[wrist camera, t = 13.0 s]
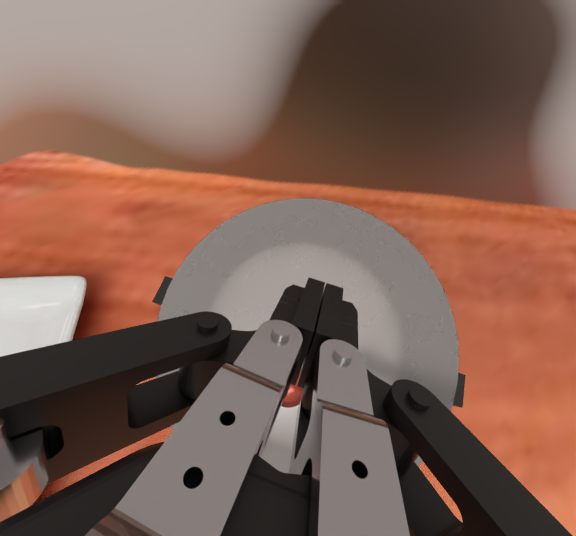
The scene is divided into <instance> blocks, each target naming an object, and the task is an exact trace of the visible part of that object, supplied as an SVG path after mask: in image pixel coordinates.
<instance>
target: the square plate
mask: <svg viewBox="0 0 576 536" xmlns="http://www.w3.org/2000/svg"><path fill="white" fill-rule="evenodd" d="M86 287H87V281H86V279H85V278H84V277H81V276H41V277H15V278H0V357H1V356H5V355H10V354H14V353H19V352H23V351H28V350H32V349H37V348H41V347H46V346H50V345H54V344H59V343H63V342H68V341H72V340H73V335H74V332H75V329H76V325H77V322H78V319H79V316H80V312H81V309H82V306H83V301H84V297H85V292H86Z"/></svg>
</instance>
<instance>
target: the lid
mask: <svg viewBox="0 0 576 536" xmlns="http://www.w3.org/2000/svg"><path fill="white" fill-rule="evenodd" d="M309 277H310V278H313V279H316V280H319V281H322V282H325V285H326V283H329V284H332V285H335V286H338V287H341V288H343V300H344V301H347V302H350V303H353V305H354V306H355V308H356V310H357V311H358V350H359V351H360V352H361V354H362V355H363V357H364V359H365V362H366V368H367V369H368V370H369V371H370V372H371V373H372V374H373V375H375V376H376V377H378V378H379V379H381V380H383V381H384V382H386V383H388V384H389V385H391V386H392V384H393V383H394V382H395V381H397V380H400V379H407V380H411V381H414V382H416V383H419V384H420V385H422V386H424V387H425V388H427V389H428V390H429V391H431V392H432V393H433V394H434V395H435V396H436V397H437V398H438V399H439V400H440V401H441V402H442V403H443V404H444V405H445V406H446V407H447V408H448V409H449V410H450V411H451V408H452V406H453V401H454V397H455V392H456V388H457V381H458V370H459V349H458V338H457V332H456V326H455V321H454V317H453V314H452V311H451V308H450V304H449V301H448V299H447V297H446V294H445V292H444V290H443V288H442V285H441V283H440V282H439V280H438V278H437V277H436V275H435V273H434V272H433V270H432V268H431V267H430V265H429V264H428V263H427V261H426V260H425V259H424V258H423V256H422V255H421V254H420V252H419V251H418V250H417V249H416V248H415V247H414V246H413V245H412V244H411V243H410V242H409V241H408V240H407V239H406V238H405V237H404V236H402V235H401V234H400V233H399V232H397V231H396V230H395V229H394V228H393V227H391V226H390V225H388V224H386V223H385V222H383V221H382V220H380V219H378V218H377V217H375V216H373V215H371V214H369V213H367V212H365V211H362V210H360V209H357V208H355V207H352V206H349V205H346V204H342V203H338V202H333V201H328V200H320V199H310V198H307V199H287V200H280V201H274V202H270V203H266V204H262V205H259V206H256V207H254V208H251V209H248V210H246V211H243V212H241V213H239V214H238V215H236V216H234V217H232V218H230V219H228V220H227V221H225V222H224V223H222V224H221V225H219V226H218V227H217V228H215V229H214V230H212V231H211V232H210V233H209V234H208V235H207V236H206V237H204V238H203V239H202V240H201V241H200V242H199V243H198V244H197V245H196V246H195V248H194V249H193V250H192V251H191V252H190V253H189V254H188V256H187V257H186V258H185V260H184V261H183V263H182V264H181V266H180V267H179V269H178V270H177V272H176V274H175V275H174V277H173V279H172V281H171V283H170V285H169V287H168V289H167V292H166V295H165V297H164V300H163V302H162V305H161V309H160V313H159V317H158V321H161V320H166V319H170V318H175V317H179V316H184V315H188V314H193V313H197V312H205V311H207V312H215V313H218V314H221V315H223V316H225V317H226V318H227V319H228V320H229V321H230V323H231V325H232V330H239V331H254V330H257V329H258V328H259V326H260V325H261V324H262V323H264V322H266V321H269V320H270V318H271V316H272V314H273V312H274V310H275V308H276V306H277V304H278V302H279V300H280V298H281V296H282V294H283V292H284V290H285V288H287V287H289V286H291V285H293V284H294V285H297V286H300V287H303V288H305V286H306V283H307V280H308V278H309ZM325 285H324V288H325ZM323 291H324V290H323ZM301 369H302V368H301ZM176 371H179V369H176V370H173V371H170V372H167V373H164V374H161V375H158V376H156V378H159V377H162V376H165V375H167V374H170V373H173V372H176ZM300 373H301V370H300ZM300 373H299V376H298V379H297V382H296V385H292V384H291V385H290V388H289V391H288V393H287V396H286V397H285V398H284V399H283V402H282V405H281V408H280V410H279V413H278V415H277V418H276V420H275V423H274V426H273V428H272V431H271V433H270V436H269V438H268V441H267V444H266V446H265V449H264V451H263V454H262V456H261V458H262V459H263V460H265V461H266V462H267V463H269V464H270V465H271V466H273V467H274V468H275V469H277V470H278V471H280V472H283V473H289V468H290V461H291V454H292V447H293V439H294V432H295V424H296V417H297V410H298V406H299V403H300V401H301V398H302V395H303V390H304V388H301V387H298V386H297V385H298V381H299V377H300ZM178 424H179V422H178V423H176V424H174V425H172V426H171V428H172V430H174V429H175V428H176V426H177V425H178ZM422 461H423V460H422V459H421V458H420V456H418V457H417V459H416V460H415V461H414V462H415V463H416V465H417V466H419V465H420V464H421V463H422Z"/></svg>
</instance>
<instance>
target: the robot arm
mask: <svg viewBox="0 0 576 536" xmlns="http://www.w3.org/2000/svg"><path fill="white" fill-rule="evenodd" d="M324 285H325V282H322V281H319V280H316V279H313V278H310V277H309V278H308V280H307V283H306V286H305V288H303V287H300V286H297V285H294V284H293V285H291V286H289V287H287V288H285V290H284V292H283V294H282V296H281V298H280V300H279V302H278V304H277V306H276V308H275V310H274V312H273V314H272V316H271V318H270V320H269V321H266V322H264V323H262V324H261V325H260V326H259V328H258V329H257V330H254V331H239V330H232V325H231V323H230V321H229V320H228V319H227V318H226V317H225V316H223V315H221V314H218V313H215V312H207V311H205V312H197V313H193V314H188V315H184V316H179V317H175V318H170V319H166V320H161V321H157V322H153V323H148V324H144V325H139V326H135V327H130V328H126V329H121V330H117V331H112V332H108V333H104V334H99V335H95V336H90V337H86V338H81V339H77V340H72V341H68V342H63V343H59V344H54V345H50V346H46V347H41V348H37V349H32V350H28V351H23V352H19V353H14V354H10V355H5V356H1V357H0V536H572V535H571V534H570V533H569V532H568V531H567V530H566V529H565V528H564V527H563V526H562V525H561V524H560V523H559V522H558V521H557V520H556V519H555V517H554V516H553V515H552V514H551V513H550V512H549V511H548V510H547V509H546V508H545V507H544V506H543V505H542V504H541V503H540V502H539V501H538V500H537V499H536V498H535V497H534V496H533V495H532V494H531V493H530V492H529V491H528V490H527V489H526V488H525V487H524V486H523V485H522V484H521V483H520V482H519V481H518V480H517V479H516V478H515V477H514V476H513V475H512V474H511V473H510V472H509V471H508V470H507V469H506V468H505V467H504V466H503V464H502V463H501V462H500V461H499V460H498V459H497V458H496V457H495V456H494V455H493V454H492V453H491V452H490V451H489V450H488V449H487V448H486V447H485V446H484V445H483V444H482V443H481V442H480V441H479V440H478V439H477V438H476V437H475V436H474V435H473V434H472V433H471V432H470V431H469V430H468V429H467V428H466V427H465V426H464V425H463V424H462V423H461V422H460V421H459V420H458V419H457V418H456V417H455V416H454V415H453V414H452V413H451V412H450V410H449V409H448V408H447V407H446V406H445V405H444V404H443V403H442V402H441V401H440V400H439V399H438V398H437V397H436V396H435V395H434V394H433V393H432V392H431V391H429V390H428V389H427V388H425V387H424V386H422V385H420V384H419V383H416V382H414V381H411V380H407V379H400V380H397V381H395V382H394V383H393V384H392V386H391V385H389V384H388V383H386V382H384V381H383V380H381V379H379V378H378V377H376V376H375V375H373V374H372V373H371V372H370V371H369V370H368V369H367V368H366V362H365V359H364V357H363V355H362V354H361V352H360V351H359V350H358V311H357V310H356V308H355V306H354V305H353V303H350V302H347V301H344V300H343V288H341V287H338V286H335V285H332V284H329V283H326V285H325V288H324ZM323 290H324V291H323ZM301 368H302V369H301ZM176 369H179V371H176V372H173V373H170V374H167V375H165V376H162V377H159V378H156V379H153V380H150V381H147V382H145V383H142V384H139V385H136V384H138V383H139V382H141V381H144V380H147V379H150V378H153V377H155V376H158V375H161V374H164V373H167V372H170V371H173V370H176ZM300 370H301V373H300ZM299 373H300V377H299V381H298V385H297V386H298V387H301V388H304V390H303V395H302V398H301V401H300V403H299V406H298V410H297V417H296V424H295V432H294V439H293V447H292V454H291V461H290V468H289V473H283V472H280V471H278V470H277V469H275V468H274V467H273V466H271V465H270V464H269V463H267V462H266V461H265V460H263V459H262V458H261V456H262V454H263V451H264V449H265V446H266V444H267V441H268V438H269V436H270V433H271V431H272V428H273V426H274V423H275V420H276V418H277V415H278V413H279V410H280V408H281V405H282V402H283V399H284V398H285V397H286V396H287V393H288V391H289V388H290V385H291V384H292V385H296V382H297V379H298V376H299ZM135 385H136V386H135ZM178 422H179V424H178V425H177V426H176V428H175V429H174V430H173V432H172V433H171V434H170V436H169V437H168V438H167V440H166V441H165V442H161V443H157V444H154V445H150V446H148V447H145V448H143V449H140V450H138V451H136V452H134V453H132V454H130V455H128V456H126V457H124V458H122V459H120V460H118V461H116V462H114V463H112V464H110V465H109V466H107V467H105V468H103V469H101V470H99V471H97V472H95V473H93V474H91V475H89V476H87V477H86V478H84V479H82V480H80V481H78V482H76V483H74V484H72V485H70V486H68V487H66V488H64V489H63V490H61V491H59V492H57V493H55V494H53V495H51V496H49V497H47V498H45V499H43V500H41V501H40V502H38V503H36V504H34V505H32V504H33V503H34V502H35V501H36V500H37V498H38V497H39V496H40V494H41V493H42V491H43V490H44V488H45V486H46V484H48V483H50V482H52V481H54V480H56V479H59V478H61V477H63V476H65V475H67V474H69V473H71V472H73V471H76V470H78V469H80V468H82V467H84V466H86V465H88V464H91V463H93V462H95V461H97V460H99V459H101V458H103V457H105V456H108V455H110V454H112V453H114V452H116V451H118V450H120V449H123V448H125V447H127V446H129V445H131V444H133V443H135V442H137V441H140V440H142V439H144V438H146V437H148V436H150V435H152V434H155V433H157V432H159V431H161V430H163V429H165V428H167V427H169V426H172V425H174V424H176V423H178ZM418 456H420V458H421V459H422V460H423V462H424V463H425V464H426V466H427V467H428V468H429V469H430V471H431V472H432V473H433V475H434V476H435V477H436V478H437V480H438V481H439V482H440V484H441V485H442V486H443V488H444V489H445V490H446V491H447V493H448V494H449V495H450V497H451V498H452V499H453V501H454V502H455V503H456V505H457V507H458V508H459V510H460V513H461V515H462V519H463V523H462V522H461V521H459V520H458V519H457V518H456V517H455V516H454V514H453V513H452V512H451V510H450V509H449V508H448V506H447V505H446V504H445V502H444V501H443V500H442V498H441V497H440V496H439V494H438V493H437V492H436V490H435V489H434V488H433V486H432V485H431V484H430V482H429V481H428V480H427V478H426V477H425V475H424V474H423V473H422V471H421V470H420V469H419V467H418V466H417V465H416V463H415V462H414V461H415V460H416V459H417V457H418ZM31 505H32V506H31Z"/></svg>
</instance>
